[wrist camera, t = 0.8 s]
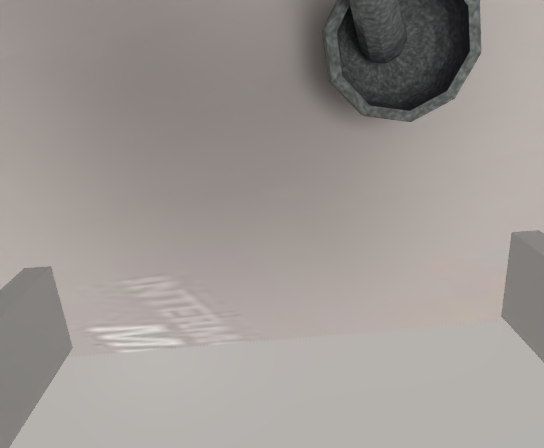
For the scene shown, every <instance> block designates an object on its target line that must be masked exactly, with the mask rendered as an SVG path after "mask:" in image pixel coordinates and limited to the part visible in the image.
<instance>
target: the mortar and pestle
mask: <svg viewBox="0 0 544 448" xmlns="http://www.w3.org/2000/svg"><path fill="white" fill-rule="evenodd" d="M322 34H323V42H324V49H325V56H326V63H327V71H328V78H329V82H330V83H331V84H332V85H333V86H334V87H335V88H336V89H337V90H338V91H339V92H340V93H341V94H342V95H343V96H344V97H345V98H346V99H347V100H348V101H349V102H350V103H351V105H352V106H353V107H354V108H355V109H356V110H357V111H358V112H359V113H360V114H362V115H364V116H369V117H376V118H384V119H391V120H399V121H406V122H412V121H414V120H415V119H417V118H419V117H421V116H423V115H425V114H427V113H429V112H430V111H432V110H434V109H436V108H438V107H440V106H442V105H444V104H445V103H447V102H449V101H451V100H453V99H455V97H456V95H457V93H458V92H459V90H460V88H461V87H462V85H463V83H464V81H465V80H466V78H467V76H468V75H469V73H470V71H471V69H472V68H473V66H474V64H475V63H476V61H477V59H478V57H479V56H480V54H481V29H480V0H337V1H336V3H335V5H334V8H333V10H332V12H331V14H330V16H329V18H328V20H327V22H326V24H325V27H324V29H323V31H322Z"/></svg>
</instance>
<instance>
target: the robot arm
mask: <svg viewBox="0 0 544 448" xmlns="http://www.w3.org/2000/svg"><path fill="white" fill-rule="evenodd" d="M501 316H502V317H503V319H504V320H505V321H506V322H507V323H508V324H509V325H510V326H511V327H512V328H513V329H514V331H515V332H516V333H517V334H518V335H519V336H520V337H521V338H522V339H523V340H524V341H525V342H526V343H527V345H528V346H529V347H530V348H531V349H532V350H533V351H534V352H535V353H536V354H537V355H538V357H539V358H540V359H541V360H542V361H543V362H544V234H543V233H542V232H540V231H539V230H538V231H525V232H512V234H511V242H510V250H509V259H508V267H507V275H506V283H505V291H504V299H503V307H502V315H501ZM72 348H73V347H72V344H71V340H70V336H69V332H68V329H67V325H66V321H65V317H64V313H63V310H62V306H61V302H60V298H59V295H58V291H57V287H56V283H55V279H54V276H53V272H52V268H51V266H50V267H36V268H24V269H23V270H22V271H21V272H20V273H19V274H17V275H16V276H15V277H14V278H13V279H12V280H11V281H10V282H9V283H8V284H7V285H5V286H4V287H3V288H2V289H1V290H0V448H9V447H10V445H11V444H12V442H13V441H14V439H15V438H16V436H17V434H18V433H19V431H20V430H21V428H22V427H23V425H24V423H25V422H26V420H27V419H28V417H29V416H30V414H31V412H32V411H33V409H34V408H35V406H36V404H37V403H38V401H39V400H40V398H41V397H42V395H43V393H44V392H45V390H46V389H47V387H48V386H49V384H50V383H51V381H52V379H53V378H54V376H55V375H56V373H57V372H58V370H59V368H60V367H61V365H62V364H63V362H64V361H65V359H66V357H67V356H68V354H69V353H70V351H71V350H72Z"/></svg>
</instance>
